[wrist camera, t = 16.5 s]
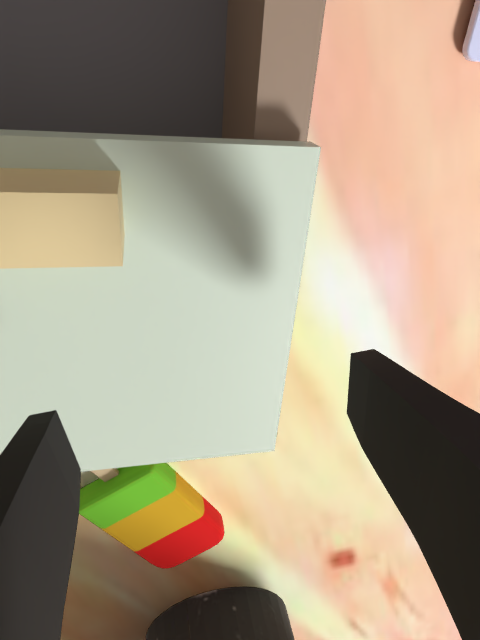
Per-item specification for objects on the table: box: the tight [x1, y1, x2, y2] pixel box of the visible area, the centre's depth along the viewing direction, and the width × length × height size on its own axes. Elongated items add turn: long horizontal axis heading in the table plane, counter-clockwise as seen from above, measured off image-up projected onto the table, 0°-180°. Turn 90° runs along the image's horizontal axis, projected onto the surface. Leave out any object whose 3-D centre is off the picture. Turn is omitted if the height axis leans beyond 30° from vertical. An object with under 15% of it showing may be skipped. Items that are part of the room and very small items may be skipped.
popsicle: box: [79, 463, 224, 568], centre depth 26 cm, size 6×15×2 cm, turn 29°
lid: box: [0, 129, 321, 472], centre depth 12 cm, size 16×11×3 cm
